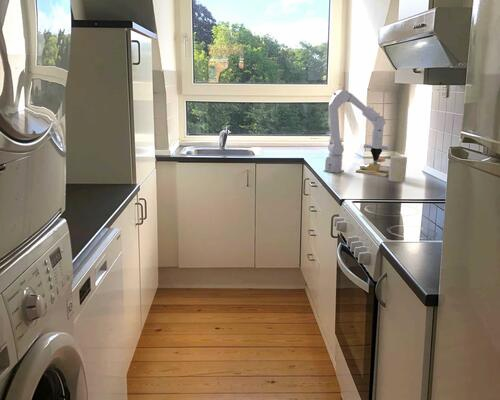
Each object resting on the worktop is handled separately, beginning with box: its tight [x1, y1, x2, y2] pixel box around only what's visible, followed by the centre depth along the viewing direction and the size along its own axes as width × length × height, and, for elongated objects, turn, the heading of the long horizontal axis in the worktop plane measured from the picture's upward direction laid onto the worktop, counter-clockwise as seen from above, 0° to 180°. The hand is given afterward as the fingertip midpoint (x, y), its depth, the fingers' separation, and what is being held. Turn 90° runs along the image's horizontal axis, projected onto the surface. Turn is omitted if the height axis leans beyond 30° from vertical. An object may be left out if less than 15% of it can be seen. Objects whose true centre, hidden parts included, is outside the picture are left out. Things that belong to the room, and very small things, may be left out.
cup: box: [388, 155, 408, 183], centre depth 285 cm, size 8×8×12 cm
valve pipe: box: [359, 162, 390, 173], centre depth 305 cm, size 4×16×4 cm, turn 53°
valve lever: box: [372, 157, 386, 164], centre depth 308 cm, size 12×2×2 cm, turn 143°
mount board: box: [355, 168, 389, 177], centre depth 306 cm, size 10×17×1 cm, turn 53°
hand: (375, 162), depth 311 cm, fingers closed
